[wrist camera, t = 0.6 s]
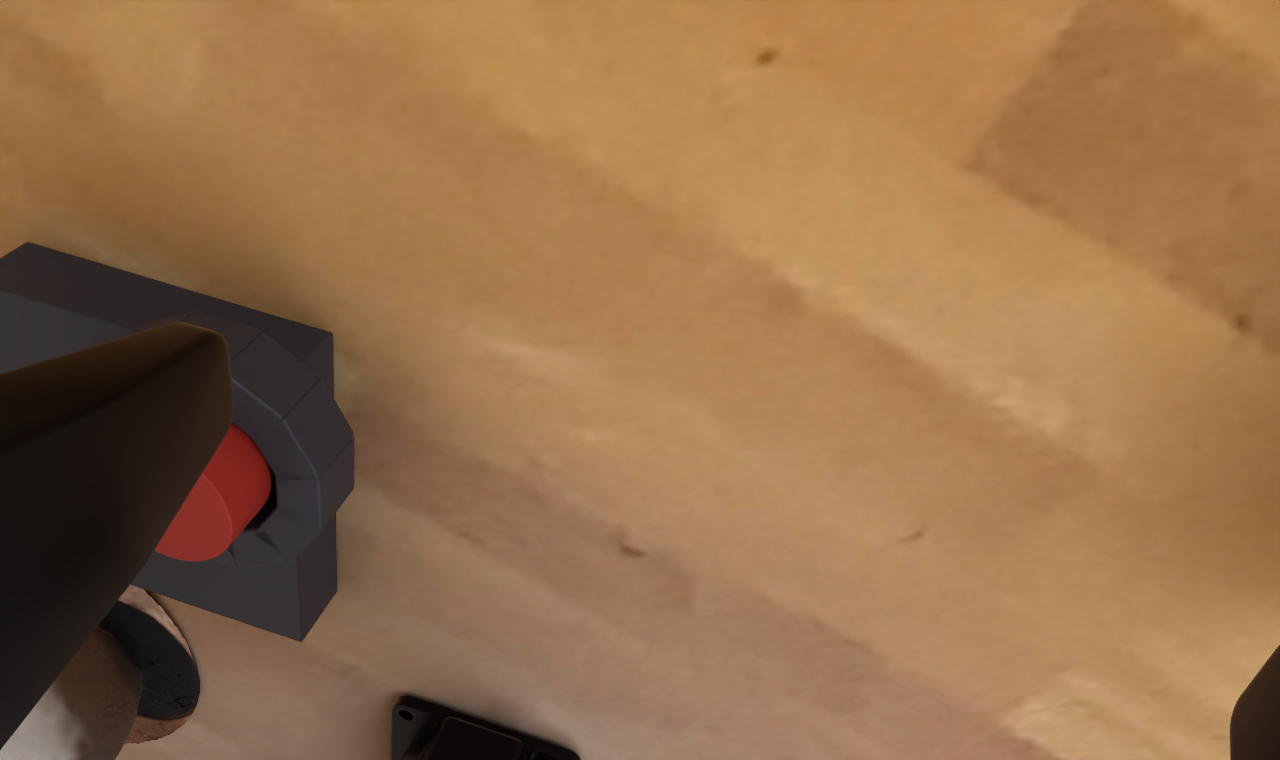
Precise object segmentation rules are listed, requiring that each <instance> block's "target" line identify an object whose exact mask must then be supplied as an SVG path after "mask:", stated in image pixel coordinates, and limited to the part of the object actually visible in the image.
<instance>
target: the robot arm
mask: <svg viewBox="0 0 1280 760" xmlns="http://www.w3.org/2000/svg"><path fill="white" fill-rule="evenodd" d="M233 415H234V397H233V389H232V380H231V371H230V362H229V353H228V347H227V343H226V341H225V339H224V337H223V336H222V335H221V334H219V333H218V332H216V331H214V330H210V329H207V328H203V327H199V326H196V325H192V324H189V323H185V322H172V323H168V324H165V325H162V326H158V327H155V328H152V329H148V330H145V331H142V332H138V333H135V334H132V335H128V336H125V337H122V338H118V339H115V340H112V341H108V342H105V343H102V344H98V345H95V346H92V347H89V348H85V349H82V350H79V351H75V352H72V353H69V354H65V355H62V356H59V357H55V358H52V359H49V360H45V361H42V362H39V363H35V364H32V365H29V366H25V367H22V368H19V369H15V370H12V371H9V372H5V373H2V374H0V750H1V749H2V748H3V746H4V745H5V744H6V742H7V741H8V740H9V739H10V737H11V736H12V735H13V733H14V732H15V731H16V730H17V728H18V727H19V726H20V725H21V723H22V722H23V721H24V719H25V718H26V717H27V716H28V714H29V713H30V712H31V711H32V709H33V708H34V707H35V705H36V704H37V703H38V702H39V700H40V699H41V698H42V696H43V695H44V694H45V693H46V691H47V690H48V689H49V688H50V686H51V685H52V684H53V682H54V681H55V680H56V679H57V677H58V676H59V675H60V674H61V672H62V671H63V670H64V668H65V667H66V666H67V665H68V663H69V662H70V661H71V660H72V658H73V657H74V656H75V654H76V653H77V652H78V651H79V649H80V648H81V647H82V645H83V644H84V643H85V642H86V640H87V639H88V638H89V637H90V635H91V634H92V633H93V631H94V630H95V629H96V628H97V626H98V625H99V624H100V623H101V621H102V620H103V619H104V617H105V616H106V615H107V614H108V612H109V611H110V610H111V608H112V607H113V606H114V605H115V603H116V602H117V601H118V600H119V598H120V597H121V596H122V594H123V593H124V592H125V591H126V589H127V588H128V587H129V585H130V584H131V583H132V581H133V580H134V579H135V577H136V576H137V575H138V573H139V572H140V571H141V569H142V568H143V566H144V565H145V564H146V562H147V561H148V559H149V558H150V556H151V555H152V553H153V552H154V550H155V549H156V547H157V546H158V544H159V542H160V541H161V539H162V537H163V536H164V534H165V533H166V531H167V529H168V528H169V526H170V525H171V523H172V521H173V520H174V518H175V517H176V515H177V513H178V512H179V510H180V509H181V507H182V505H183V504H184V502H185V500H186V499H187V497H188V496H189V494H190V492H191V491H192V489H193V488H194V486H195V484H196V483H197V481H198V480H199V478H200V476H201V475H202V473H203V471H204V470H205V468H206V467H207V465H208V463H209V462H210V460H211V459H212V457H213V455H214V454H215V452H216V451H217V449H218V447H219V446H220V444H221V442H222V441H223V439H224V438H225V436H226V434H227V432H228V430H229V428H230V426H231V423H232V419H233ZM1230 755H1231V760H1280V645H1279V646H1278V647H1277V649H1276V650H1275V651H1274V653H1273V654H1272V655H1271V657H1270V658H1269V659H1268V660H1267V662H1266V663H1265V664H1264V666H1263V667H1262V668H1261V670H1260V671H1259V672H1258V674H1257V675H1256V676H1255V678H1254V679H1253V680H1252V681H1251V683H1250V684H1249V685H1248V687H1247V688H1246V689H1245V691H1244V692H1243V693H1242V695H1241V696H1240V698H1239V699H1238V701H1237V703H1236V705H1235V707H1234V710H1233V713H1232V717H1231V724H1230ZM391 760H581V759H580V757H579V756H578V755H577V754H576V753H575V752H573V751H571V750H569V749H566V748H563V747H560V746H557V745H554V744H551V743H548V742H545V741H542V740H539V739H536V738H533V737H530V736H527V735H524V734H521V733H518V732H516V731H513V730H510V729H507V728H504V727H501V726H498V725H495V724H492V723H489V722H486V721H483V720H480V719H477V718H474V717H471V716H468V715H465V714H462V713H459V712H456V711H453V710H451V709H448V708H445V707H442V706H439V705H436V704H433V703H430V702H427V701H424V700H421V699H418V698H415V697H412V696H407V695H406V696H401V697H400V698H399V699H398V701H397V702H396V704H395V706H394V708H393V711H392V741H391Z"/></svg>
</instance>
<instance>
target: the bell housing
mask: <svg viewBox="0 0 1280 760" xmlns="http://www.w3.org/2000/svg"><path fill="white" fill-rule="evenodd" d="M172 322H185V323H189V324H192V325H196V326H199V327H203V328H207V329H210V330H214V331H216V332H218V333H219V334H221V335H222V336H223V337H224V339H225V341H226V343H227V347H228V353H229V362H230V371H231V380H232V389H233V397H234V415H233V419H232V422H233V423H234V424H235V425H236V426H238V427H239V428H240V429H242V430H243V431H244V432H246V433H247V434H248V435H249V436H250V437H251V438H252V439H253V441H254V442H255V444H256V445H257V447H258V448H259V450H260V452H261V453H262V455H263V456H264V458H265V460H266V462H267V464H268V467H269V470H270V475H271V490H270V495H269V498H268V500H267V502H266V503H265V504H264V506H263V507H262V508H261V509H260V511H259V512H258V513H257V514H256V515H255V516H254V518H253V519H252V520H251V521H250V522H249V524H248V525H247V526H246V527H245V528H244V529H243V531H242V532H241V533H240V534H239V535H238V537H237V538H236V539H235V540H234V541H233V542H232V544H231V545H230V546H229V547H228V548H227V550H225V551H224V552H223V553H222V554H221V555H219V556H217V557H215V558H212V559H210V560H205V561H185V560H179V559H176V558H172V557H169V556H166V555H163V554H161V553H159V552H157V551H155V550H154V552H153V553H152V555H151V556H150V558H149V559H148V561H147V562H146V564H145V565H144V566H143V568H142V569H141V571H140V572H139V573H138V575H137V576H136V577H135V579H134V580H133V581H132V583H131V584H130V585H133V586H136V587H139V588H142V589H145V590H148V591H151V592H154V593H157V594H160V595H163V596H166V597H169V598H172V599H175V600H178V601H181V602H184V603H187V604H190V605H193V606H196V607H199V608H201V609H204V610H207V611H210V612H213V613H216V614H219V615H222V616H225V617H228V618H231V619H234V620H237V621H240V622H243V623H246V624H249V625H252V626H255V627H258V628H261V629H264V630H267V631H270V632H273V633H276V634H279V635H282V636H285V637H288V638H291V639H294V640H297V641H300V642H302V641H303V640H304V638H305V637H306V635H307V634H308V632H309V631H310V630H311V628H312V627H313V625H314V624H315V622H316V621H317V619H318V618H319V616H320V615H321V614H322V612H323V611H324V609H325V608H326V606H327V605H328V603H329V602H330V601H331V599H332V598H333V596H334V595H335V593H336V592H337V563H336V511H337V510H338V509H339V507H340V506H341V505H342V503H343V502H344V501H345V499H346V498H347V497H348V495H349V494H350V493H351V491H352V490H353V488H354V436H353V432H352V430H351V428H350V426H349V425H348V423H347V421H346V419H345V418H344V416H343V414H342V412H341V411H340V409H339V407H338V406H337V404H336V402H335V400H334V376H333V334H332V333H331V332H327V331H324V330H320V329H317V328H314V327H310V326H307V325H304V324H300V323H297V322H294V321H290V320H287V319H284V318H280V317H277V316H273V315H270V314H267V313H263V312H260V311H257V310H253V309H250V308H247V307H243V306H240V305H237V304H233V303H230V302H226V301H223V300H220V299H216V298H213V297H210V296H206V295H203V294H200V293H196V292H193V291H190V290H186V289H183V288H179V287H176V286H173V285H169V284H166V283H163V282H159V281H156V280H153V279H149V278H146V277H143V276H139V275H136V274H133V273H129V272H126V271H122V270H119V269H116V268H112V267H109V266H106V265H102V264H99V263H96V262H92V261H89V260H86V259H82V258H79V257H75V256H72V255H69V254H65V253H62V252H59V251H55V250H52V249H49V248H45V247H42V246H39V245H35V244H32V243H25V244H23V245H21V246H20V247H18V248H17V249H15V250H13V251H12V252H10V253H8V254H7V255H5V256H3V257H2V258H0V374H2V373H5V372H9V371H12V370H15V369H19V368H22V367H25V366H29V365H32V364H35V363H39V362H42V361H45V360H49V359H52V358H55V357H59V356H62V355H65V354H69V353H72V352H75V351H79V350H82V349H85V348H89V347H92V346H95V345H98V344H102V343H105V342H108V341H112V340H115V339H118V338H122V337H125V336H128V335H132V334H135V333H138V332H142V331H145V330H148V329H152V328H155V327H158V326H162V325H165V324H168V323H172Z"/></svg>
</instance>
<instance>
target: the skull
mask: <svg viewBox="0 0 1280 760" xmlns="http://www.w3.org/2000/svg"><path fill="white" fill-rule="evenodd" d="M199 689H200V681H199V676H198V672H197V667H196V664H195V662H194V659H193V657H192V654H191V653H190V650H189V647H188V645H187V643H186V641H185V639H184V638H183V637H182V635H181V633H180V632H179V631H178V628H177V627H176V626H174V623H173V621H172V620H171V619H170V618H169V617H168V616H167V614H166V613H165V612H164V610H163V609H162V607H161V606H159V605H158V604H157V603H156V602H155V601H154V600H153V598H151V597H150V596H149V595H148V594H147V593H146V591H145V590H144V589H142V588H139V587H136V586H133V585H129V587H128V588H127V589H126V591H125V592H124V593H123V594H122V596H121V597H120V598H119V600H118V601H117V602H116V603H115V605H114V606H113V607H112V608H111V610H110V611H109V612H108V614H107V615H106V616H105V617H104V619H103V620H102V621H101V623H100V624H99V625H98V626H97V628H96V629H95V630H94V631H93V633H92V634H91V635H90V637H89V638H88V639H87V640H86V642H85V643H84V644H83V645H82V647H81V648H80V649H79V651H78V652H77V653H76V654H75V656H74V657H73V658H72V660H71V661H70V662H69V663H68V665H67V666H66V667H65V668H64V670H63V671H62V672H61V674H60V675H59V676H58V677H57V679H56V680H55V681H54V682H53V684H52V685H51V686H50V688H49V689H48V690H47V691H46V693H45V694H44V695H43V696H42V698H41V699H40V700H39V702H38V703H37V704H36V705H35V707H34V708H33V709H32V711H31V712H30V713H29V714H28V716H27V717H26V718H25V719H24V721H23V722H22V723H21V725H20V726H19V727H18V728H17V730H16V731H15V732H14V733H13V735H12V736H11V737H10V739H9V740H8V741H7V742H6V744H5V745H4V746H3V748H2V749H1V750H0V760H115V758H116V757H117V755H118V754H119V752H120V750H121V749H122V746H123V744H125V743H137V744H139V743H140V742H145V741H150V740H157V739H158V738H160V737H161V738H162V736H166V735H170V734H171V733H173V732H174V731H176V730H177V729H178V728H180V727H181V726H182V725H183V724H184V723H185V722H186V721H187V720H188V719H189V718H190V716H191V714H192V713H193V711H194V709H195V707H196V704H197V701H198V697H199V693H200V691H199Z"/></svg>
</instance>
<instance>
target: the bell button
mask: <svg viewBox="0 0 1280 760" xmlns="http://www.w3.org/2000/svg"><path fill="white" fill-rule="evenodd" d="M270 490H271V475H270V470H269V467H268V464H267V462H266V460H265V458H264V456H263V455H262V453H261V452H260V450H259V448H258V447H257V445H256V444H255V442H254V441H253V439H252V438H251V437H250V436H249V435H248V434H247V433H246V432H244V431H243V430H242V429H240V428H239V427H238V426H236V425H235V424H234V423H233V422H232V423H231V426H230V428H229V430H228V432H227V434H226V436H225V438H224V439H223V441H222V442H221V444H220V446H219V447H218V449H217V451H216V452H215V454H214V455H213V457H212V459H211V460H210V462H209V463H208V465H207V467H206V468H205V470H204V471H203V473H202V475H201V476H200V478H199V480H198V481H197V483H196V484H195V486H194V488H193V489H192V491H191V492H190V494H189V496H188V497H187V499H186V500H185V502H184V504H183V505H182V507H181V509H180V510H179V512H178V513H177V515H176V517H175V518H174V520H173V521H172V523H171V525H170V526H169V528H168V529H167V531H166V533H165V534H164V536H163V537H162V539H161V541H160V542H159V544H158V546H157V547H156V549H155V551H157V552H159V553H161V554H163V555H166V556H169V557H172V558H176V559H179V560H185V561H205V560H210V559H212V558H215V557H217V556H219V555H221V554H222V553H223V552H224V551H225V550H227V548H228V547H229V546H230V545H231V544H232V542H233V541H234V540H235V539H236V538H237V537H238V535H239V534H240V533H241V532H242V531H243V529H244V528H245V527H246V526H247V525H248V524H249V522H250V521H251V520H252V519H253V518H254V516H255V515H256V514H257V513H258V512H259V511H260V509H261V508H262V507H263V506H264V504H265V503H266V502H267V500H268V498H269V495H270Z"/></svg>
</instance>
